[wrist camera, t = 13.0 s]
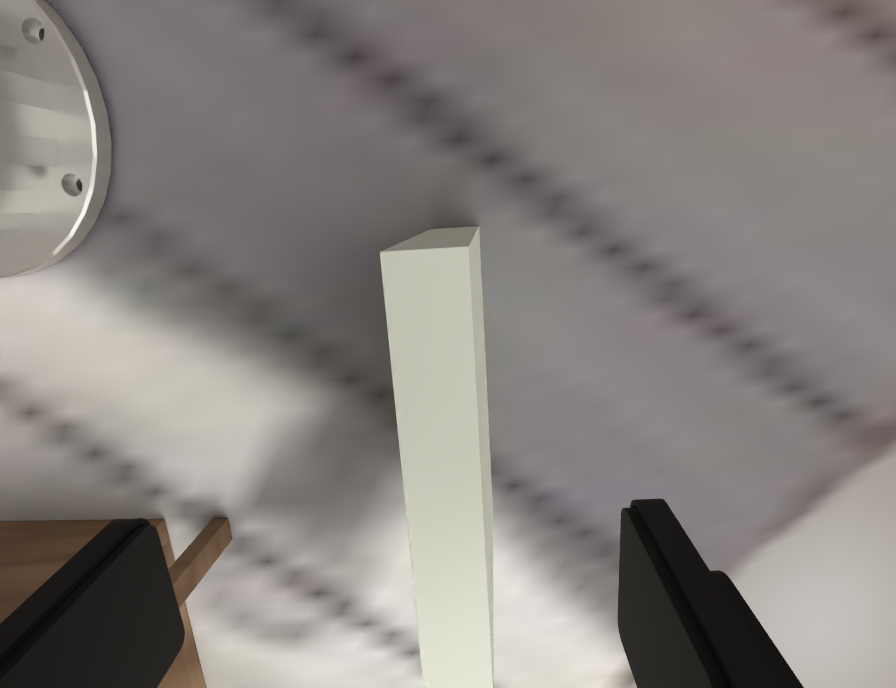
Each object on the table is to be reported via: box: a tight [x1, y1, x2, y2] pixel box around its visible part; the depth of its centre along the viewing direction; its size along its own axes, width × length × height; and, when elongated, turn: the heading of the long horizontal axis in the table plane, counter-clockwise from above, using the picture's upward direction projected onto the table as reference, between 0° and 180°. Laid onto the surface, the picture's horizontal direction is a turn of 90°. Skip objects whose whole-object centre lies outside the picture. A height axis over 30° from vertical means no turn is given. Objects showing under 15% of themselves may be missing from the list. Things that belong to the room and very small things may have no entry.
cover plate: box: [380, 226, 494, 688], centre depth 18 cm, size 13×2×10 cm, turn 4°
